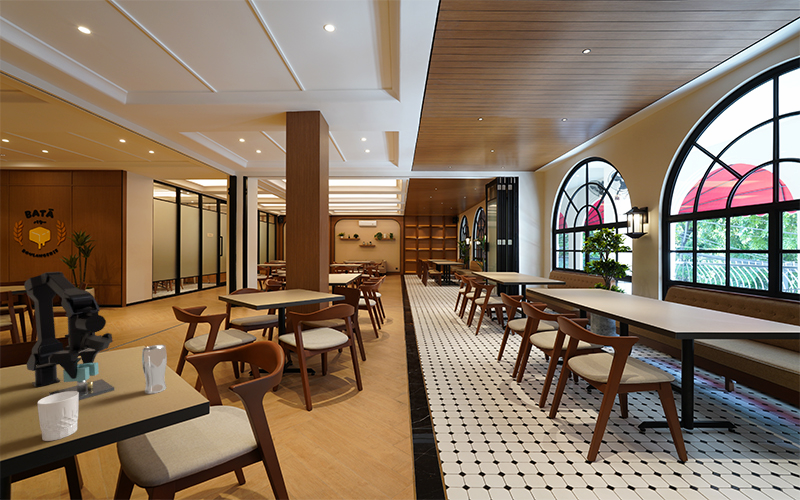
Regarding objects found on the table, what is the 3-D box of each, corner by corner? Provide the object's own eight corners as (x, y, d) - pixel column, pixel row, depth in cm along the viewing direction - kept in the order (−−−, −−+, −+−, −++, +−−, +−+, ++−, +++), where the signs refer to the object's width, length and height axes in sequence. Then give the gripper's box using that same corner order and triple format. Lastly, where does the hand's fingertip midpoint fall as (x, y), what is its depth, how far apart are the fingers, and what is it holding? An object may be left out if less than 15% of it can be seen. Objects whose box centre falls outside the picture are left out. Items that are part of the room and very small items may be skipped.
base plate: (49, 395, 118) (48, 381, 118) (101, 381, 130) (101, 368, 130) (59, 405, 110) (58, 390, 110) (114, 390, 122) (113, 375, 121)
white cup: (87, 429, 95) (85, 392, 95) (50, 444, 88) (48, 405, 88) (68, 424, 98) (67, 389, 98) (31, 440, 91) (30, 401, 90)
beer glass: (172, 386, 124) (171, 344, 123) (157, 394, 117) (155, 350, 116) (154, 386, 124) (152, 344, 124) (137, 394, 117) (136, 350, 117)
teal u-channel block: (63, 382, 116) (63, 370, 116) (78, 375, 123) (77, 363, 123) (85, 380, 117) (84, 368, 117) (98, 373, 124) (98, 362, 124)
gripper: (86, 335, 112) (88, 383, 112) (122, 322, 130) (124, 363, 130) (46, 337, 110) (48, 386, 110) (88, 324, 128) (90, 366, 129)
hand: (81, 374), depth 120 cm, fingers closed on teal u-channel block, 6 cm apart
